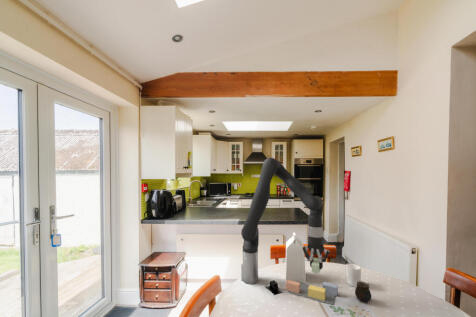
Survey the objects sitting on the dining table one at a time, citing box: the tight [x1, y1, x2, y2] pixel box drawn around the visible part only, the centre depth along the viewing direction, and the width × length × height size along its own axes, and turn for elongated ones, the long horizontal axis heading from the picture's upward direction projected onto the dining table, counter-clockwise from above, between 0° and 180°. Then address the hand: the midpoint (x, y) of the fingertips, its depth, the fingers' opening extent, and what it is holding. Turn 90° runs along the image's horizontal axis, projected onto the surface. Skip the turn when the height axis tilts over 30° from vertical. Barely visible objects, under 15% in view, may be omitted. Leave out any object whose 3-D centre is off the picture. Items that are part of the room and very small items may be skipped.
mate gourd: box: [354, 281, 372, 304], centre depth 111 cm, size 7×8×10 cm
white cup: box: [345, 263, 362, 288], centre depth 126 cm, size 8×8×10 cm
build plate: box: [265, 279, 284, 296], centre depth 121 cm, size 12×7×5 cm, turn 25°
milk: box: [285, 232, 307, 283], centre depth 136 cm, size 12×12×26 cm
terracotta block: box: [285, 280, 301, 293], centre depth 120 cm, size 7×4×4 cm, turn 60°
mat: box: [288, 281, 336, 306], centre depth 118 cm, size 22×13×1 cm, turn 60°
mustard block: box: [308, 284, 326, 301], centre depth 113 cm, size 8×4×4 cm, turn 60°
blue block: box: [322, 281, 339, 297], centre depth 117 cm, size 7×4×4 cm, turn 60°
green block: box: [310, 257, 321, 274], centre depth 114 cm, size 7×4×4 cm, turn 150°
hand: (316, 268), depth 114 cm, fingers closed on green block, 3 cm apart
